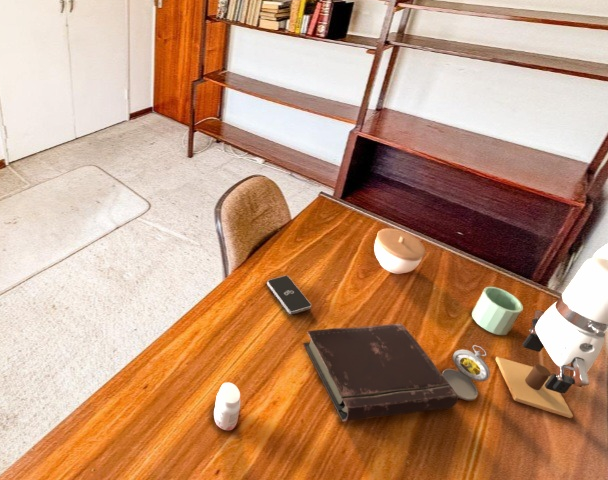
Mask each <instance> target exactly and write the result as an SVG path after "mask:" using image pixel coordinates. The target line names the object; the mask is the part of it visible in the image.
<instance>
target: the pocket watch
mask: <svg viewBox="0 0 608 480" xmlns="http://www.w3.org/2000/svg"><path fill="white" fill-rule="evenodd" d="M475 347H477V348H480V349H481V350H482V351H483V352H484V354H482V353H481V350H476V349H475ZM472 350H473V351H474V352H473V351H471V350H468V349H458V350H456V351H454V353H453V354H452V362H453V364H454V366H455V367H456V368H457V370H456V369H453V368H445V369H444V370H442V372H441V374H442V375H443V377H444V378H445V379H446V380H447V382H448V383H449V384H450V386H451V387H452V388H453V389H454V391H455V392H456V393H457V394H458V399H462V400H465V401H474V400H476V399H477V398H478V396H479V391H478V388H477V386H476V384H475V382H481V383H482V382H486V381H487V380H489V378H490V375H491V372H490V371H491V370H490V367H489V365H488V363H487V362H486V361H485V360H484V359H483V358H482V357H486V356H488V353H487V351H486V350H485V349H484V348H483V347H481V345H480V346H479V345H477V344H473V345H472ZM481 356H482V357H481ZM472 380H473V381H472ZM474 381H475V382H474Z"/></svg>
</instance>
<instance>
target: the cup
mask: <svg viewBox="0 0 608 480" xmlns="http://www.w3.org/2000/svg"><path fill="white" fill-rule="evenodd" d="M523 310H524V305H523V304H522V302H521V301H520V300H519V298H517V297H516V296H515V295H513V293H511V292H509V291H507V290H505V289H502V288H500V287H497V286H486V287H485V288H484V289H483V290H482V293H481V294H480V295H479V298H478V300H477V301H476V303H475V305H474V306H473V309H472V312H471V317H472V319H473V321H474V322H475V323H476V324H477V325H478V326H480V327H481V328H482V329H483V330H485V331H487V332H489V333H491V334H493V335H497V336H506V335H508V333H509V332H510V331H511V330H512V328H513V326H514V325H515V323H516V321H518V319H519V317H520V315H521V314H522V312H523Z"/></svg>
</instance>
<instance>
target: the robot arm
mask: <svg viewBox="0 0 608 480" xmlns="http://www.w3.org/2000/svg"><path fill="white" fill-rule="evenodd" d="M531 322H532V327H530V328H529V334H528V336H527V337H526V339H525V340H524V341H523V342H522V347H523V348H525V349H527V350H531V351H535V352H536V353H540V352H541V351H542V350H543V349H545V351H546V352H547V353H548V355H549V357H550V358H551V360H552V361H553V362H554V364H555V365H556V374H555V373H553V374H552V375H550V376H551V377H550V378H549V380H548V381H547V382H546V384H545V387H546V389H549V390H552V391H555V392H558V393H560V394H561V395H563V394H566V393H567V391H568V390H569V389H570V388H571V387H572V385H573V386H576V387H580V388H582V387H586V386H589V385H590V379H589V376H588V372H589V371H590V369H591V368H592V366H593V365H594V363H595V362H596V360H597V359H598V357H599V355H600V353H601V351H602V349H603V347H604V344H605V341H606V338H605V336H606V333H607V332H608V243H606V244H604V245H603V246H601V248H598V249H597V250H596V251H595V253H594V254H593V255H592V257H590V258H588V259H587V260H586V261H584V263H583V264H582V265H581V266H580V268H579V269H578V270H577V272H576V274H575V275H574V276H573V278H572V280H571V281H570V283H569V284H568V285H567V286H566V288H565V290H564V291H563V292H562V294H561V295H560V297H559V298H558V299H557V301H555V302H554V303H552V304H551V305H550V306H549V308H547V310H545V311H543V310H538V309H535V311H534V316H533V318H532V320H531ZM565 369H567V370H569V376H568V375H565Z"/></svg>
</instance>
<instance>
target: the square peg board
mask: <svg viewBox="0 0 608 480" xmlns="http://www.w3.org/2000/svg"><path fill="white" fill-rule="evenodd" d="M495 362H496V364H497V366H498V368H499V371H500V374H501V375H502V377H503V380H504V381H505V384H506V387H507V388H508V390H509V392H510V395H511V397H512V399H513V401H514V402H517V403H521V404H525V405H527V406H529V407H530V406H531V407H533V408H536V409H540V410H543V411H546V412H549V413H552V414H556V415H559V416H563V417H566V418H569V419H572V418H573V417H574V415H573V413H572V411H571V410H570V407H569V406H568V404H567V402H566V401H565V399H564V397H563V394H562V393H558V392H555V391H552V390H549V389H546V387H545V384H546V382H547V381H548V380H549V378H550V377H551V376H552V375H551V371H550V370H549V369H548V368H547V367H546V366H544V365H541V364H535V365H534V366H532V365H531V366H530V365H528V364H524V363H520V362H518V361H514V360H510V359H506V358H504V357H500V356H496V357H495Z"/></svg>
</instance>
